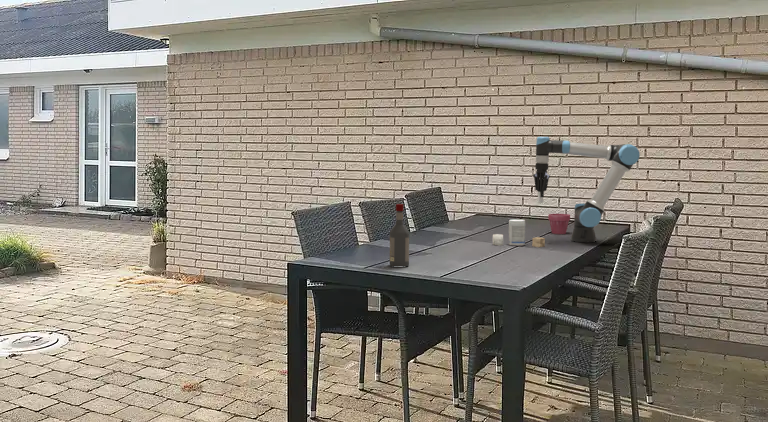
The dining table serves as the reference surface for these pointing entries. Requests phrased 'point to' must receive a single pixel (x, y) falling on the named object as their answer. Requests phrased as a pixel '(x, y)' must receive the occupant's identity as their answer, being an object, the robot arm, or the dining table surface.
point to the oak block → (538, 242)
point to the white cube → (498, 239)
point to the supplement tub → (517, 232)
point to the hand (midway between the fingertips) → (540, 202)
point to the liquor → (399, 241)
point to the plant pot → (559, 223)
